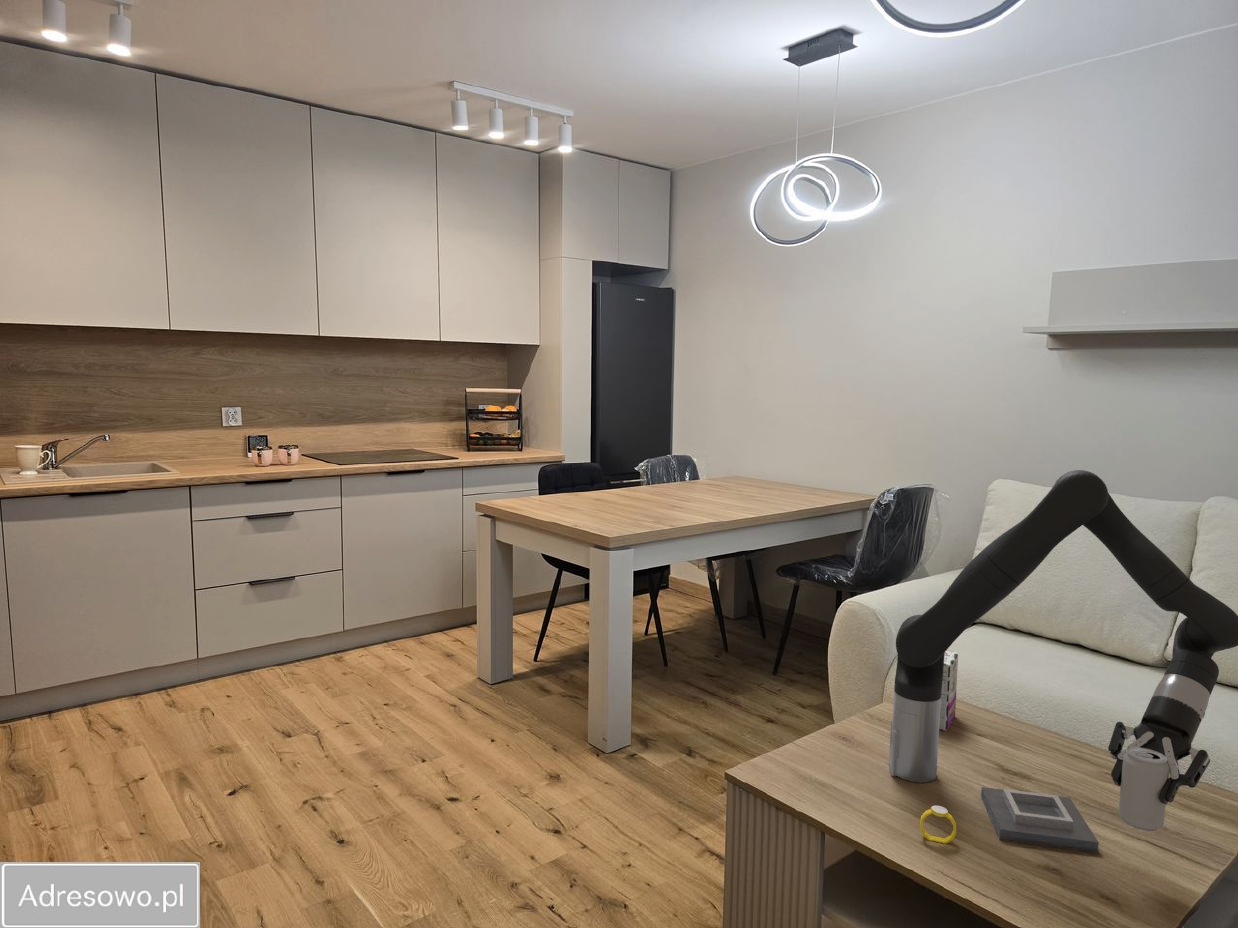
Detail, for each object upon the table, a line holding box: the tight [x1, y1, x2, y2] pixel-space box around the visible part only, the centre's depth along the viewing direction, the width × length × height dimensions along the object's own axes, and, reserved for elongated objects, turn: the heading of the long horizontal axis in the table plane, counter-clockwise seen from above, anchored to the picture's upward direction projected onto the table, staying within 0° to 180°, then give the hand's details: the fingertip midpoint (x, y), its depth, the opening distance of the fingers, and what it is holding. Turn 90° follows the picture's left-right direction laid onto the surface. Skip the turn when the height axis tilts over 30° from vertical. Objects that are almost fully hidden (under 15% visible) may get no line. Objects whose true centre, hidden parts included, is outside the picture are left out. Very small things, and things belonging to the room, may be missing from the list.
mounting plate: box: [980, 786, 1100, 854], centre depth 151 cm, size 16×16×4 cm
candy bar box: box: [939, 649, 959, 732], centre depth 196 cm, size 11×5×16 cm, turn 148°
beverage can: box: [1118, 747, 1170, 832], centre depth 134 cm, size 6×6×12 cm
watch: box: [919, 805, 957, 845], centre depth 145 cm, size 6×3×6 cm, turn 69°
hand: (1139, 791), depth 133 cm, fingers closed on beverage can, 6 cm apart
